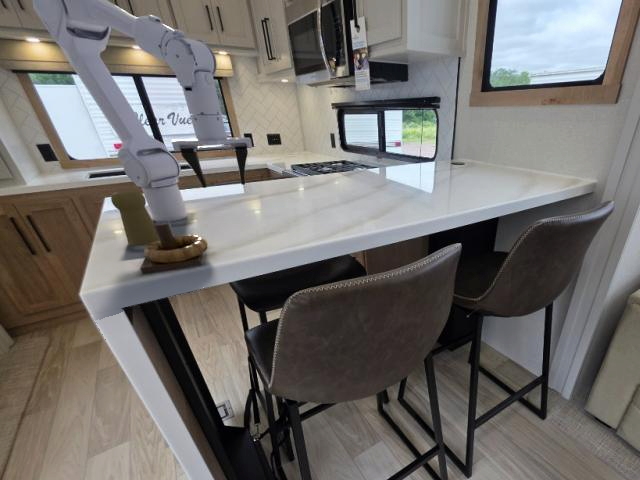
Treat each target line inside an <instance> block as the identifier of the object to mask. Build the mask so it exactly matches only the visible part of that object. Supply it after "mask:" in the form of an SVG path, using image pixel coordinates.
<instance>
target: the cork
mask: <svg viewBox="0 0 640 480" xmlns="http://www.w3.org/2000/svg"><path fill="white" fill-rule="evenodd" d="M110 200H111V201H110V202H111V204H112V205H113V206H114V208H115V209H117V210H119V214H120V217H121V221H122V225H123V229H124V232H125V236H126V240H127V244H128V245H129V246H132V247H133V246H134V247H140V246H141V247H142V246H147V245H148V244H150V243H152V242H154V241H156V240H159V237H158V235H157V232H156V230H155V227H154V223H155V222H154V220H153V218H152V217H151V215H150V214H149V212H148V210H147V208H146V204H147V201H146V199H145V196H144V193H143V192H141V191H139V190H137V189H124V190H119V191H115V192H113V193H111V196H110Z"/></svg>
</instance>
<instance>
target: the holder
mask: <svg viewBox="0 0 640 480" xmlns="http://www.w3.org/2000/svg"><path fill="white" fill-rule="evenodd" d="M153 223H154V227H155V230H156V232H157V235H158V237H159V240H160V243H161V245H162V248H163V250H174V249H180V248H184V247H187V246H183V247H178V245H177V242H176V239H175V236H176V235H175V234H174V231H173V228H172V225H171V221H170V222H168V221H161V222H157V221H156V222H153ZM202 262H203V253H202V254H200V255H199V256H197V257H194V258H191V259H188V260H185V261H180V262H173V263H156V262H153V261H151V260H149V259H147V258H146V257H145V256H144V259H143V261H142V264H141V266H140V268H139V269H140V272H141V274H142V275H149V274H155V273H161V272H168V271H175V270H181V269H186V268H194V267H200V266H202Z"/></svg>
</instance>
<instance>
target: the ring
mask: <svg viewBox="0 0 640 480" xmlns="http://www.w3.org/2000/svg"><path fill="white" fill-rule="evenodd" d="M174 236H175V239H176V242H177V245H178V247H183V246H187V247H184V248H180V249H174V250H163V248H162V245H161V243H160V240H156V241H154V242H152V243H150V244H148V245H145V248H144V250H143V256H144V258H145V257H146V258H147V259H149V260H151V261H153V262H156V263H173V262H180V261H185V260H188V259H191V258H194V257H197V256H199V255H200V254H202V255H203V253H205V252H206V251H207V250H208V241H207V239H206V238H204V237H202V236H200V235H197V234H179V235H178V234H177V235H174Z"/></svg>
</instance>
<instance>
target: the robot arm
mask: <svg viewBox="0 0 640 480" xmlns="http://www.w3.org/2000/svg"><path fill="white" fill-rule="evenodd" d="M31 1H32V9H33V10H34V11H35V13H36V15H37V17H38V18H39V19H40V21H41V23H42V24H43V25H44V27H45V28H46V30H47V31H48V33H49V34H50V37H52V39H53V40H54V42H55V44H57V45H58V46H59V48H60V50H61V51H62V53H63V55H64V57H65V58H66V60H67V61H68V63H69V64H70V65H71V67H72V69H73V70H74V72H75V74H76V75H77V76H78V78H79V79H80V82H82V84H83V85H84V87H85V88H86V90H87V91H88V94H89V95H90V96H91V97H92V99H93V101H94V102H95V104H96V105H97V107H98V108H99V109H100V111H101V112H102V114H103V115H104V117H105V119H106V121H107V122H108V123H109V125H110V126H111V127H112V129H113V131H114V132H115V134H116V135H117V137H118V138H119V140H120V141H121V146H120V147H119V150H118V152H117V154H116V155H117V158H118V159H119V161H120V162H121V164H122V167H123V171H124V173H125V175H126V176H127V178H128V179H129V180H130V181H131V182H132V183H133V184H135V185H136V186H137V187H138V188H141V191H142V194H143V195H144V197H145V200H146V204H147V206H148V208H149V211H150V214H151V216H152V217H151V218H152V220H153V222H154V221H155V222H156V223H157V222H161V221H168V222H170V223H171V222H176V221H180V220H183V219H186V218H187V217H188V212H187V207H186V205H185V202H184V199H183V196H182V192H181V190H180V188H179V185H178V183H179V182H180V179H179V178H180V176H181V175H182V169H181V168H182V167H181V165H180V162H179V160H178V159H177V158H176V156H175V155H174V154H172V152H171V151H169V149H168V148H167V147H166V146H167V145H166V144H164V143H163V142H161V141H159V140H158V139H156V138H154V137H153V136H151V135H150V134H149V133H148V132H147V130H146V128H145V127H144V125H143V123H142V122H141V120H140V118H139V117H138V116H137V114H136V112H135V111H134V109H133V108H132V106H131V104H130V103H129V101H128V100H127V98H126V96H125V94H124V93H123V92H122V90H121V88H120V87H119V85H118V83H117V82H116V80H115V79H114V77H113V75H112V74H111V72H110V70H109V69H108V67H107V66H106V64H105V62H104V61H103V59H102V58H101V53H102V52H104V51H106V48H107V45H108V42H109V39H110V34H111V32H112V29H114V30H115V31H117V32H120V33H122V34H124V35H126V36H127V37H130V38H132V39H133V40H134V41H135V44H136V45H137V46H138V48H139V49H140V50H141V51H143V52H144V53H146V54H148V55H150V56H152V57H154V58H156V59H158V60H160V61H161V62H163V63H165V64H167V65H168V67H169V68H170V69H171V71H172V72H173V73H174V75H175V77H176V80H177V83H178V84H179V85H180V87H181V88H182V92H183V95H184V99H185V103H186V106H187V110H188V113H189V117H190V120H191V124H192V127H193V131H194V135H195V138H182V139H172V140H171V141H170V142H171V145H172V148H173V151H174V152H180V153H181V156H182V158H183V159H184V160H185V162H186V163H187V164H188V165H189V166H190V168H191V169H192V170H193V173H195V175H196V177H197V179H198V180H199V182H200V185H201V187H202V188H207V187H208V185H207V182H206V178H205V175H204V173H203V170H202V167H201V164H200V159H199V156H198V155H199V154H198V152H197V151H202V150H203V151H205V150H207V151H208V150H232V149H233V150H234V153H235V158H236V162H237V166H238V173H239V179H240V184H241V185H246V182H245V173H246V172H245V170H246V164H247V163H246V162H247V158H248V153H249V151H248V149H253V144H252V139H251V138H250V137H228V135H227V131H226V126H225V122H224V118H223V114H222V108H221V104H220V101H219V96H218V93H217V87H216V84H215V83H216V82H215V80H214V75H215V74H216V72H217V66H218V64H217V63H218V62H217V58H216V54H215V53H214V51H213V50H212V48H211V47H210V46H209V45H208V44H207V43H205V42H204V40H202V39H191V38H188V37H187V36H185V32H184V31H182V30H180V29H177V28H174V29H173V28H171V27H169V26H167V25H165V24H164V23H162V21H163V20H162V18H160V17H158V16H156V15H152V14H148V15H142V16H139V17H136V16H135V15H133V14H131V13H129V12H127V11H126V10H124V9H123V8H121V7H119V6H117V5H116V4H114V3H113V2H110V1H109V0H31Z"/></svg>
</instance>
